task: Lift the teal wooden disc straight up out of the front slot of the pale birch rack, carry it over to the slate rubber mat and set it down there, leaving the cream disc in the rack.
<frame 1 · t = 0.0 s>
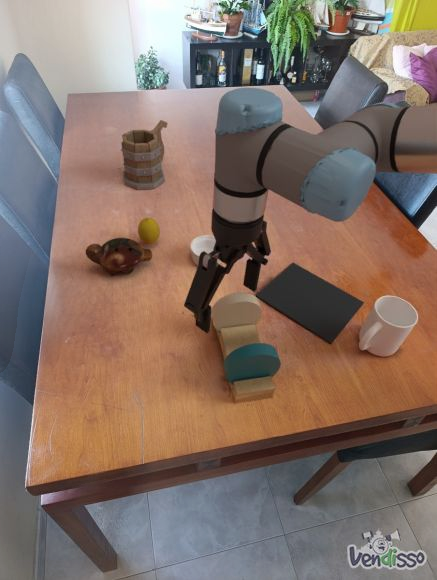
hand: (227, 306, 69), 12 cm above the table, tool pointing down, fingers open, 13 cm apart
rack: (240, 358, 76), on the table
tankard: (151, 175, 123), on the table
brown piece: (122, 267, 92), on the table
teal disc: (251, 365, 66), point 7 cm above the table, touching rack
mug: (371, 346, 80), on the table
ramekin: (207, 259, 96), on the table
cream disc: (236, 313, 74), point 7 cm above the table, touching rack
lemon: (150, 243, 99), on the table
mat: (309, 300, 88), on the table
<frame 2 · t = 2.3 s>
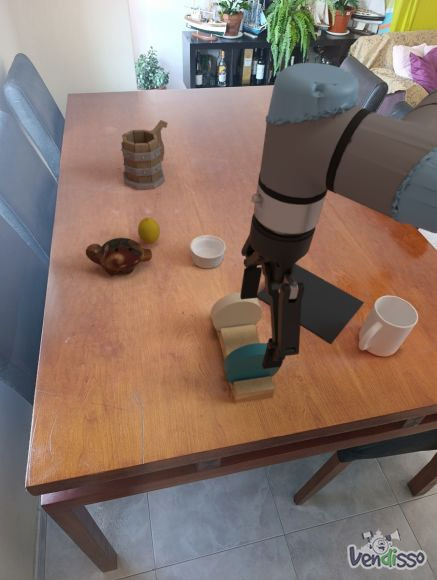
hand: (259, 328, 59), 18 cm above the table, tool pointing down, fingers open, 13 cm apart
nothing on the table moved.
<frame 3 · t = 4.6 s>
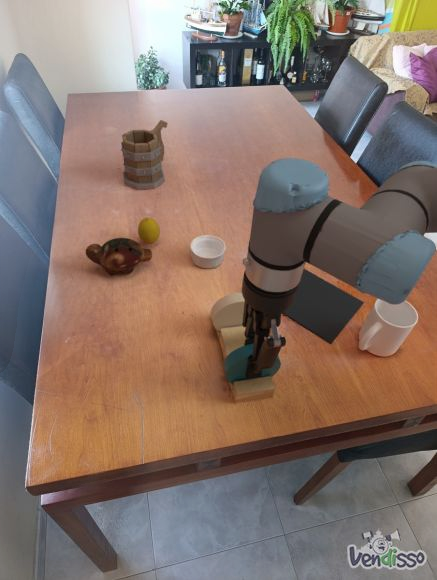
hand: (251, 368, 67), 6 cm above the table, tool pointing down, fingers closed on teal disc, 2 cm apart
teal disc: (251, 365, 66), point 7 cm above the table, touching gripper
everything else where it was.
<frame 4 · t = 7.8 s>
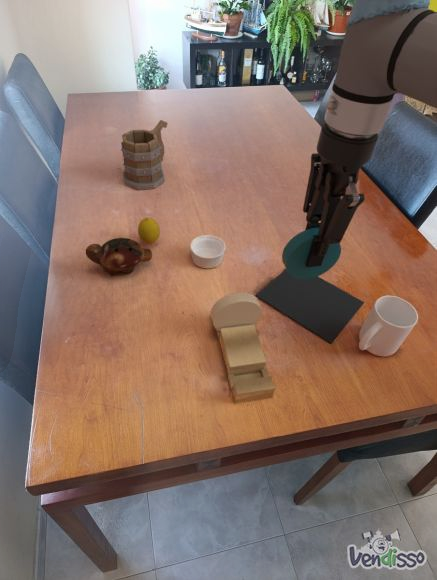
hand: (309, 259, 67), 21 cm above the table, tool pointing down, fingers closed on teal disc, 2 cm apart
teal disc: (311, 254, 66), point 22 cm above the table, touching gripper
everything else where it was.
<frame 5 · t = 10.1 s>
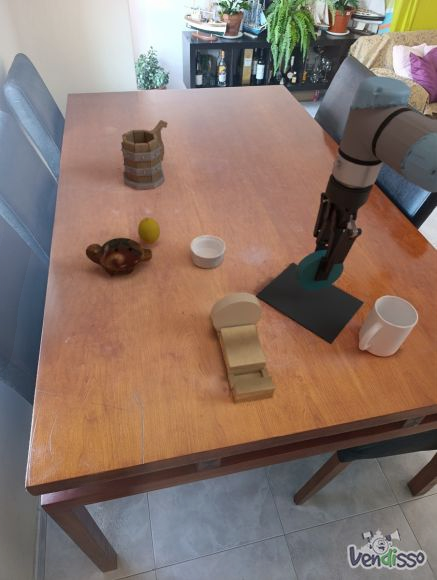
hand: (318, 274, 82), 8 cm above the table, tool pointing down, fingers closed on teal disc, 2 cm apart
teal disc: (319, 270, 81), point 9 cm above the table, touching gripper
everything else where it was.
when the fingers open (4 cm above the table, at t = 11.2 s): teal disc stays where it is, resting on mat.
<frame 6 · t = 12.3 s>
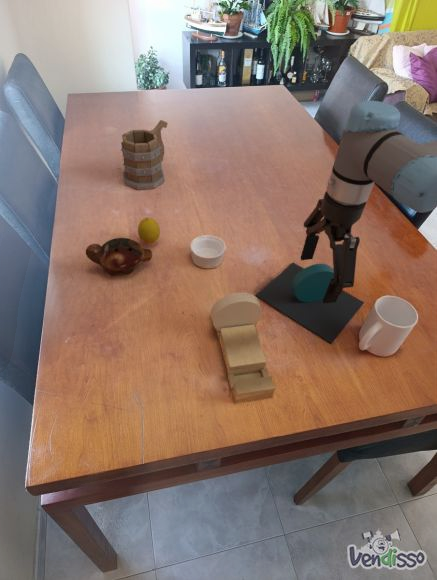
hand: (317, 279, 83), 7 cm above the table, tool pointing down, fingers open, 13 cm apart
teal disc: (314, 283, 84), point 5 cm above the table, touching mat
everything else where it was.
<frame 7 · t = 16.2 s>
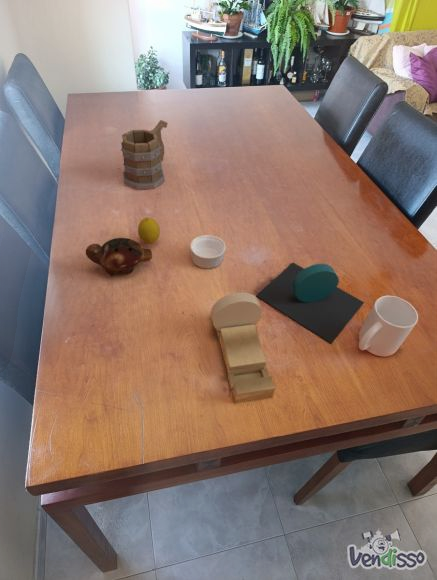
nothing on the table moved.
at the end: teal disc inside the target area on the mat (0.1 cm from its centre), point 5.5 cm above the mat's base; teal disc touching mat; the gripper is holding nothing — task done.
